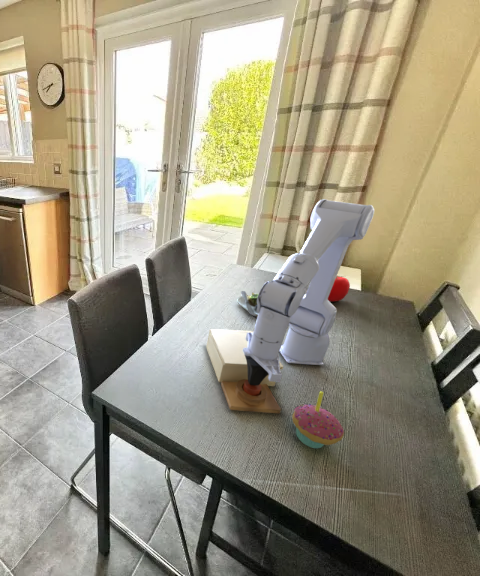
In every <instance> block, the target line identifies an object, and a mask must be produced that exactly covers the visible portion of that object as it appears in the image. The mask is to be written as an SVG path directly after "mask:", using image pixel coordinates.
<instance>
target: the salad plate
mask: <svg viewBox="0 0 480 576" xmlns="http://www.w3.org/2000/svg"><path fill="white" fill-rule="evenodd" d="M258 295H259V293H254V292H251V294H247V292H246V291H245V290H241V291H240V296H238V297H237V300H236V302H237V304H238V305H239V306H240V307H242V308H243V309H244V310H245V311H246V312H248V313H249V314H250V315H251V316H253V317H254V318H256V319H257V317H258V313H257V311H256V310H257V306H258V304H257V297H258Z"/></svg>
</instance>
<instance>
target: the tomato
mask: <svg viewBox="0 0 480 576" xmlns="http://www.w3.org/2000/svg"><path fill="white" fill-rule="evenodd" d="M350 288H351V283H350V281H349V279H347V278H346V277H345V275H343V276H340V275H337V276H336V279H335V281H334V284H333V286H332V289H331V291H330V294H329V296H328V301H329V302H330V303H331V302H339V301H342V300H343V299H345V297H347V295H348V294H349V291H350Z"/></svg>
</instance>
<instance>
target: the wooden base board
mask: <svg viewBox="0 0 480 576" xmlns="http://www.w3.org/2000/svg"><path fill="white" fill-rule="evenodd" d="M246 380H248V379H242V380H240V381H238V382H226V381H222V382H220V386H221V389H222V392H223V395H224V397H225V400H226V403H227V405H228V408H229V410H230V411H241V412H255V413H268V414H281V412H282V408H281V407H280V405H279V403H278V402H277V399H276V398H275V395H274V394H273V392H272V390H271V389H270V386H268V385H267V384H260V385H261V391H260V394H259V395H257V396H252V395H249V394H247V393H246V392H245V391H244V390H243V386H244V382H245V381H246Z"/></svg>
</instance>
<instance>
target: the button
mask: <svg viewBox="0 0 480 576" xmlns="http://www.w3.org/2000/svg"><path fill="white" fill-rule="evenodd" d="M243 390H244V391H245V392H246V393H247V394H249V395H252V396H257V395H259V394H260V391H261V385H260V384H259V385H250V384H249V382H248V380H246V381H245V382H244V386H243Z"/></svg>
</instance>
